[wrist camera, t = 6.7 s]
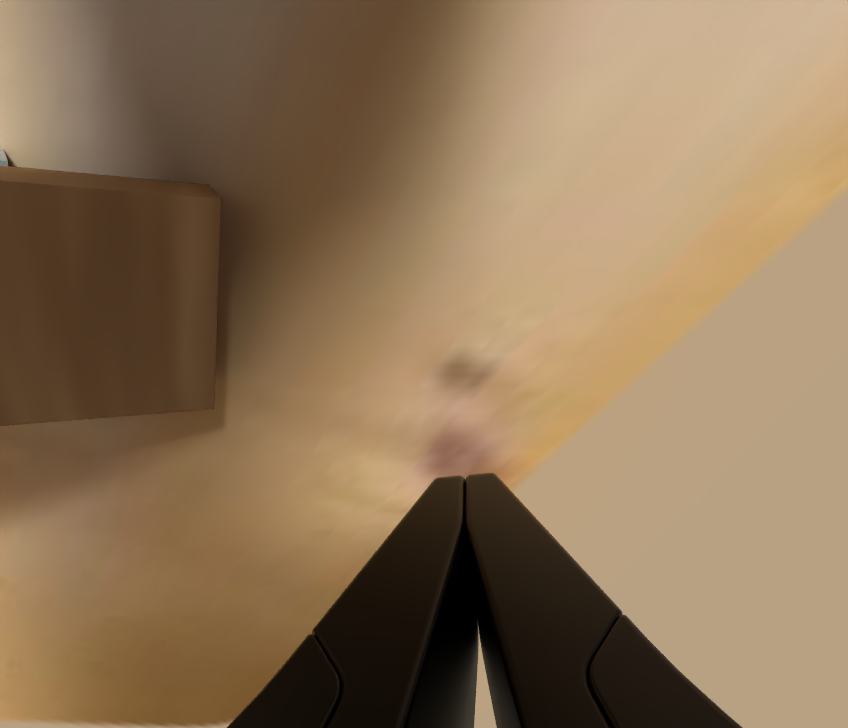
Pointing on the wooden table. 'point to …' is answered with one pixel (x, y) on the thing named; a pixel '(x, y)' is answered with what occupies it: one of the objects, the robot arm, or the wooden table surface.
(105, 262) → the domino
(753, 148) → the wooden table surface
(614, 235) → the wooden table surface
